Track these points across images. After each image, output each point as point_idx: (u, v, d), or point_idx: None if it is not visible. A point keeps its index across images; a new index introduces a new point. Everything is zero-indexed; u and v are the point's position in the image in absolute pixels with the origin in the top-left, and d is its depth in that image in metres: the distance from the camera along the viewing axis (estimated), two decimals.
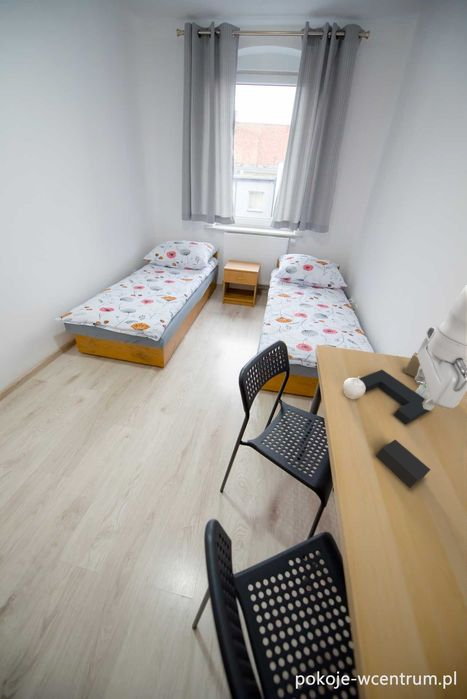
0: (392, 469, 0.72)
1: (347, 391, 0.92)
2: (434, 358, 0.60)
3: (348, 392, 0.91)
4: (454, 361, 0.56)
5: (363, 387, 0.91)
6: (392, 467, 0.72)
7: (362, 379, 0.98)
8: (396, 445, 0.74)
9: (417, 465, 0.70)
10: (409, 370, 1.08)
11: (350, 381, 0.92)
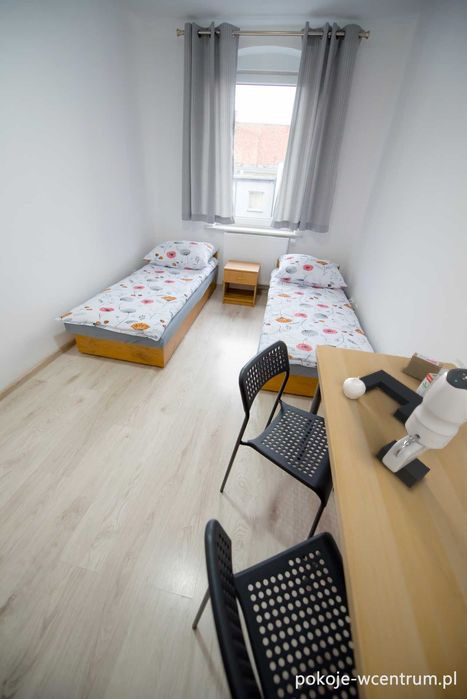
0: None
1: (347, 391, 0.92)
2: None
3: (348, 392, 0.91)
4: (413, 436, 0.64)
5: (363, 387, 0.91)
6: None
7: (362, 379, 0.98)
8: None
9: (417, 465, 0.70)
10: (409, 370, 1.08)
11: (350, 381, 0.92)
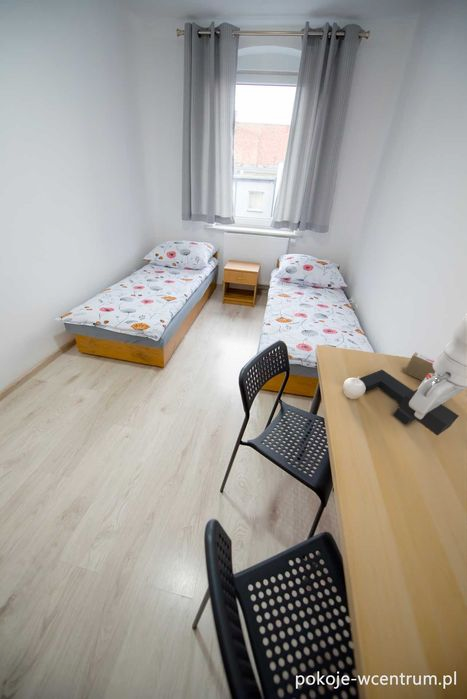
0: (417, 418, 0.67)
1: (347, 391, 0.92)
2: (435, 372, 0.63)
3: (348, 392, 0.91)
4: None
5: (363, 387, 0.91)
6: None
7: (362, 379, 0.98)
8: None
9: (444, 412, 0.65)
10: (409, 370, 1.08)
11: (350, 381, 0.92)
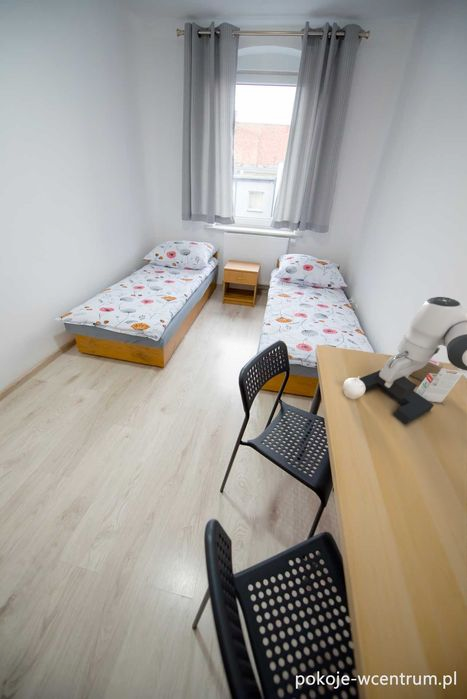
0: (387, 387, 0.90)
1: (347, 391, 0.92)
2: None
3: (348, 392, 0.91)
4: None
5: (363, 387, 0.91)
6: None
7: (362, 379, 0.98)
8: None
9: (406, 382, 0.88)
10: None
11: (350, 381, 0.92)
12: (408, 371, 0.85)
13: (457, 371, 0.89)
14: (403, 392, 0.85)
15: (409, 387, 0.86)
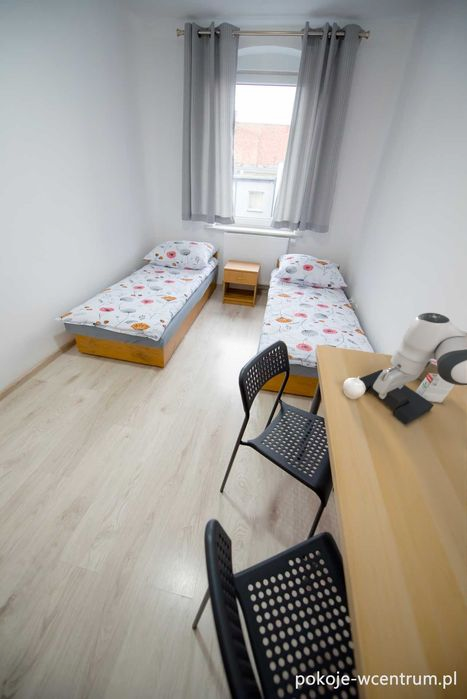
0: None
1: (347, 391, 0.92)
2: None
3: (348, 392, 0.91)
4: None
5: (363, 387, 0.91)
6: None
7: (362, 379, 0.98)
8: None
9: (399, 393, 0.91)
10: None
11: (350, 381, 0.92)
12: (401, 383, 0.88)
13: None
14: (396, 403, 0.88)
15: (402, 398, 0.89)
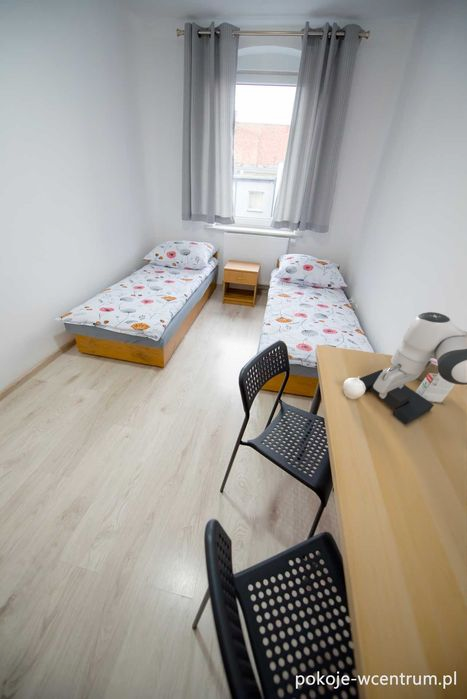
0: (381, 398, 0.93)
1: (347, 391, 0.92)
2: (393, 364, 0.88)
3: (348, 392, 0.91)
4: None
5: (363, 387, 0.91)
6: None
7: (362, 379, 0.98)
8: None
9: (400, 393, 0.90)
10: None
11: (350, 381, 0.92)
12: (401, 383, 0.88)
13: None
14: (397, 403, 0.88)
15: (403, 398, 0.88)
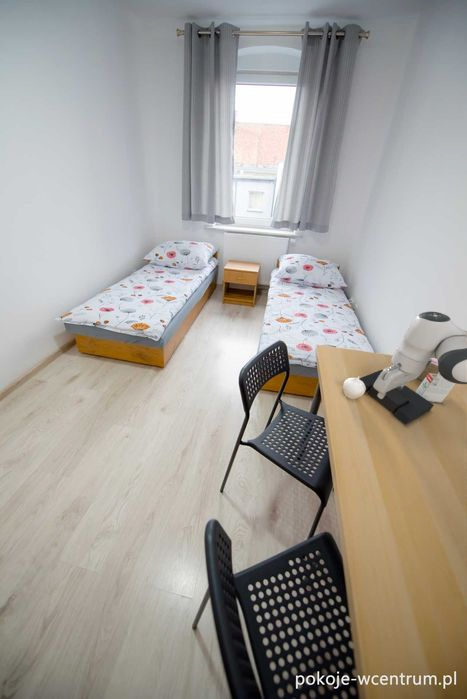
0: (379, 401, 0.93)
1: (347, 391, 0.92)
2: (393, 364, 0.88)
3: (348, 392, 0.91)
4: None
5: (363, 387, 0.91)
6: (379, 399, 0.93)
7: (362, 379, 0.98)
8: None
9: (398, 396, 0.91)
10: None
11: (350, 381, 0.92)
12: (402, 382, 0.88)
13: None
14: (395, 406, 0.89)
15: (401, 401, 0.89)
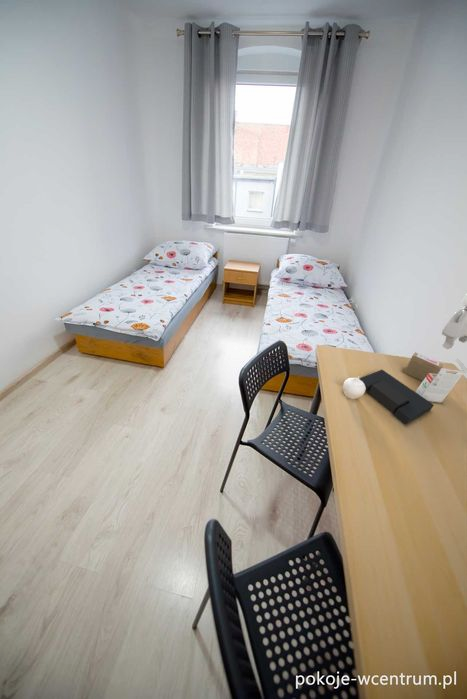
0: (379, 401, 0.93)
1: (347, 391, 0.92)
2: (463, 308, 0.78)
3: (348, 392, 0.91)
4: None
5: (363, 387, 0.91)
6: (379, 399, 0.93)
7: (362, 379, 0.98)
8: (383, 384, 0.96)
9: (398, 396, 0.91)
10: (409, 370, 1.08)
11: (350, 381, 0.92)
12: None
13: (457, 371, 0.89)
14: (395, 406, 0.89)
15: (401, 401, 0.89)
